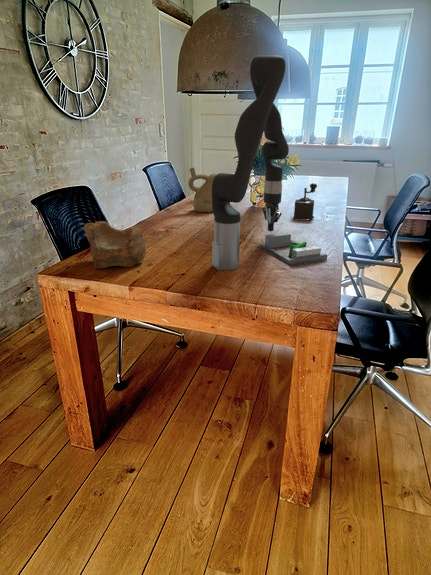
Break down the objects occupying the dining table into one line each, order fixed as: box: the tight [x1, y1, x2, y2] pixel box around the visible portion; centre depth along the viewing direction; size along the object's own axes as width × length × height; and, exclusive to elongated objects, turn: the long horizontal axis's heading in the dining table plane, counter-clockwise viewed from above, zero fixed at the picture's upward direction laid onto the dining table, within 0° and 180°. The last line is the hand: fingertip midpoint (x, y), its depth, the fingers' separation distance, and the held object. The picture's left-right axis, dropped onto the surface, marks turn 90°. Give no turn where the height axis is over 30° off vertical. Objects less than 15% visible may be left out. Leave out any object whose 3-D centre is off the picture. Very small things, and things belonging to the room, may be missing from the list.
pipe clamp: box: [288, 241, 307, 257], centre depth 152 cm, size 11×4×5 cm, turn 145°
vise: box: [259, 239, 328, 267], centre depth 154 cm, size 16×25×5 cm, turn 23°
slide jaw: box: [264, 232, 292, 249], centre depth 163 cm, size 11×3×5 cm, turn 113°
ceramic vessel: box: [187, 167, 218, 213], centre depth 223 cm, size 17×20×25 cm
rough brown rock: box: [83, 220, 147, 270], centre depth 138 cm, size 23×17×15 cm
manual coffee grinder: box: [293, 183, 318, 221], centre depth 211 cm, size 16×11×18 cm
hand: (270, 230), depth 168 cm, fingers closed
